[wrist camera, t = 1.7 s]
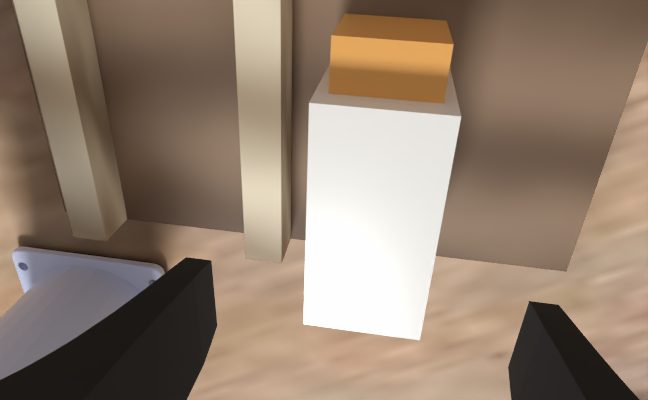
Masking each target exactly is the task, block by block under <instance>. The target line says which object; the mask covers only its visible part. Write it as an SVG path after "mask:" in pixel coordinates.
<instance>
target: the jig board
mask: <svg viewBox="0 0 648 400" xmlns="http://www.w3.org/2000/svg"><path fill="white" fill-rule="evenodd" d="M11 1H12V5H13V9H14V13H15V17H16V21H17V25H18V29H19V33H20V37H21V40H22V44H23V48H24V52H25V56H26V60H27V64H28V68H29V72H30V76H31V79H32V83H33V87H34V91H35V95H36V99H37V103H38V107H39V111H40V115H41V119H42V122H43V126H44V130H45V134H46V138H47V142H48V146H49V150H50V154H51V158H52V162H53V165H54V169H55V173H56V177H57V181H58V185H59V189H60V193H61V197H62V201H63V204H64V208H65V211H66V212H67V214H68V218H69V222H70V226H71V230H72V234H73V237H75V238H83V239H91V240H99V241H108V240H109V238H110V237H111V236H112V235H113V234H114V233H115V232H116V231H117V230H118V229H119V227H120V226H121V225H122V224H123V223H124V222H125V221H126V220H127V219H133V220H141V221H149V222H158V223H166V224H174V225H183V226H191V227H199V228H208V229H216V230H224V231H233V232H241V233H244V239H245V259H251V260H259V261H267V262H275V263H282V261H283V258H284V255H285V252H286V250H287V247H288V244H289V242H290V239H300V240H306V202H307V163H308V123H309V102H310V100H311V98H312V96H313V94H314V93H315V91H316V89H317V87H318V85H319V83H320V81H321V79H322V77H323V76H324V74H325V72H326V70H327V68H328V66H329V64H330V52H331V35H332V33H333V32H334V30H335V29H336V27H337V25H338V24H339V22H340V21H341V19H342V17H343V16H344V14H359V15H373V16H388V17H402V18H417V19H431V20H445V21H447V24H448V27H449V30H450V34H451V37H452V40H453V44H454V45H453V51H452V57H451V63H450V70H451V74H452V78H453V83H454V87H455V91H456V95H457V100H458V104H459V108H460V113H461V121H460V127H459V132H458V137H457V143H456V148H455V153H454V159H453V164H452V170H451V175H450V180H449V186H448V191H447V197H446V202H445V207H444V213H443V218H442V223H441V229H440V234H439V240H438V245H437V250H436V256H442V257H450V258H458V259H467V260H475V261H483V262H492V263H500V264H508V265H517V266H525V267H534V268H542V269H550V270H559V271H567V268H568V265H569V262H570V259H571V256H572V254H573V251H574V248H575V245H576V242H577V239H578V237H579V234H580V231H581V228H582V225H583V222H584V220H585V217H586V214H587V211H588V208H589V205H590V203H591V200H592V197H593V194H594V191H595V189H596V186H597V183H598V180H599V177H600V174H601V172H602V169H603V166H604V163H605V160H606V157H607V155H608V152H609V149H610V146H611V143H612V140H613V138H614V135H615V132H616V129H617V126H618V123H619V121H620V118H621V115H622V112H623V109H624V107H625V104H626V101H627V98H628V95H629V92H630V90H631V87H632V84H633V81H634V78H635V75H636V73H637V70H638V67H639V64H640V61H641V58H642V56H643V53H644V50H645V47H646V44H647V41H648V0H11Z"/></svg>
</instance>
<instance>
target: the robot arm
mask: <svg viewBox="0 0 648 400" xmlns="http://www.w3.org/2000/svg"><path fill="white" fill-rule="evenodd" d="M12 258H13V261H14V264H15V267H16V270H17V273H18V276H19V279H20V282H21V285H22V288H23V291H24V295H23V296H22V297H21V298H20V299H19V300H18V301H17V302H16V303H15V304H14V305H13V306H12V307H11V308H10V309H9V310H8V311H7V312H6V313H5V314H4V315H3V316H2V317H1V318H0V400H187V398H188V396H189V394H190V392H191V390H192V388H193V385H194V383H195V381H196V379H197V377H198V375H199V373H200V371H201V369H202V367H203V365H204V362H205V359H206V356H207V354H208V351H209V348H210V345H211V342H212V339H213V336H214V333H215V330H216V327H217V320H216V309H215V298H214V287H213V276H212V265H211V261H210V260H202V259H194V258H185V259H184V260H182V261H181V262H179V263H178V264H177V265H175V266H174V267H173V268H172V269H170V270H169V271H168V272H166V273H165V272H164V270H163V268H162V267H161V266H159V265H157V264H154V263H146V262H139V261H131V260H123V259H115V258H108V257H100V256H92V255H84V254H77V253H69V252H61V251H53V250H46V249H38V248H30V247H18V248H16V249H15V250H14V251H13V252H12ZM153 280H155V282H154V281H153ZM508 369H509V379H510V390H511V399H512V400H639V399H638V398H637V396H636V395H635V394H634V393H633V392H632V391H631V390H630V389H629V388H628V387H627V385H626V384H625V383H624V382H623V381H622V380H621V379H620V378H619V376H618V375H617V374H616V373H615V372H614V371H613V370H612V368H611V367H610V366H609V365H608V364H607V363H606V361H605V360H604V359H603V358H602V357H601V356H600V354H599V353H598V352H597V351H596V350H595V348H594V347H593V346H592V345H591V344H590V342H589V341H588V340H587V339H586V338H585V336H584V335H583V334H582V333H581V332H580V330H579V329H578V328H577V327H576V325H575V324H574V323H573V322H572V321H571V319H570V318H569V317H568V316H567V314H566V313H565V312H564V311H563V310H562V309H561V307H560V306H559V305H554V304H547V303H539V302H531V301H529V304H528V307H527V310H526V313H525V316H524V320H523V323H522V326H521V329H520V332H519V335H518V338H517V342H516V345H515V348H514V351H513V354H512V357H511V360H510V363H509V367H508Z"/></svg>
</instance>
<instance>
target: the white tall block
mask: <svg viewBox="0 0 648 400" xmlns="http://www.w3.org/2000/svg"><path fill="white" fill-rule="evenodd" d="M453 45H454V44H453V40H452V37H451V34H450V30H449V27H448V24H447V21H445V20H431V19H417V18H402V17H388V16H373V15H359V14H344V16H343V17H342V19H341V21H340V22H339V24H338V25H337V27H336V29H335V30H334V32H333V33H332V35H331V52H330V64H329V66H328V68H327V70H326V72H325V74H324V76H323V77H322V79H321V81H320V83H319V85H318V87H317V89H316V91H315V93H314V94H313V96H312V98H311V100H310V102H309V123H308V163H307V202H306V242H305V281H304V321H303V324H306V325H313V326H320V327H328V328H335V329H342V330H349V331H357V332H364V333H371V334H378V335H386V336H393V337H400V338H407V339H414V340H420V336H421V331H422V326H423V320H424V315H425V310H426V304H427V299H428V293H429V288H430V283H431V277H432V272H433V266H434V261H435V256H436V250H437V245H438V240H439V234H440V229H441V223H442V218H443V213H444V207H445V202H446V197H447V191H448V186H449V180H450V175H451V170H452V164H453V159H454V153H455V148H456V143H457V137H458V132H459V127H460V121H461V113H460V108H459V104H458V100H457V95H456V91H455V87H454V83H453V78H452V74H451V70H450V63H451V57H452V51H453Z"/></svg>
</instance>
